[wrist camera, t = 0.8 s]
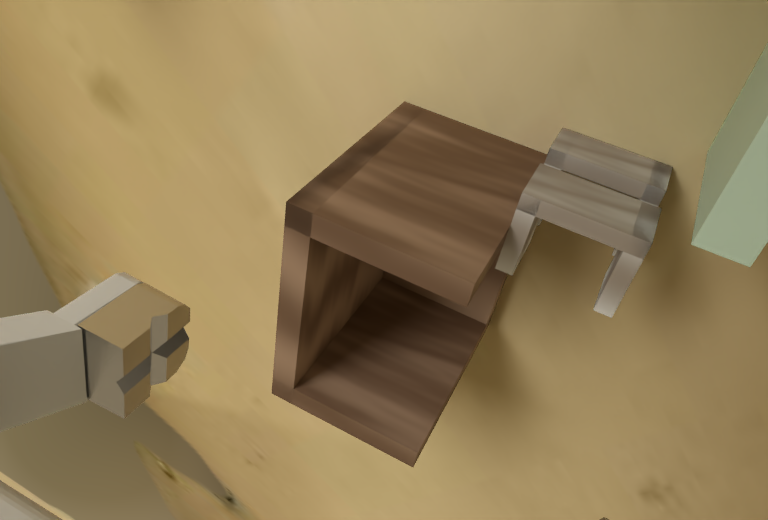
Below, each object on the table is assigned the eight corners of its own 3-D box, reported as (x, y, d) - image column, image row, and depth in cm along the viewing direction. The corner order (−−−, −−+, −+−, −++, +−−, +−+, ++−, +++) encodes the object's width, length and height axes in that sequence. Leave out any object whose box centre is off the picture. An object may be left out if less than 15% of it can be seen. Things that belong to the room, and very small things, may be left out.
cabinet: (410, 72, 41) (288, 167, 31) (672, 166, 37) (633, 312, 27) (370, 273, 52) (271, 393, 41) (570, 363, 48) (514, 520, 37)
